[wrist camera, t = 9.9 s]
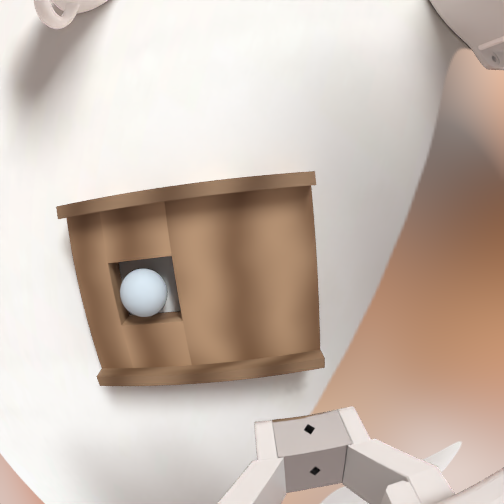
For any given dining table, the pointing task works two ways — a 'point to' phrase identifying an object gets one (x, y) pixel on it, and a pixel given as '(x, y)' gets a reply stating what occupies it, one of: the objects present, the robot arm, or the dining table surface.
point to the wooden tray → (204, 280)
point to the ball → (143, 292)
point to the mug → (70, 3)
